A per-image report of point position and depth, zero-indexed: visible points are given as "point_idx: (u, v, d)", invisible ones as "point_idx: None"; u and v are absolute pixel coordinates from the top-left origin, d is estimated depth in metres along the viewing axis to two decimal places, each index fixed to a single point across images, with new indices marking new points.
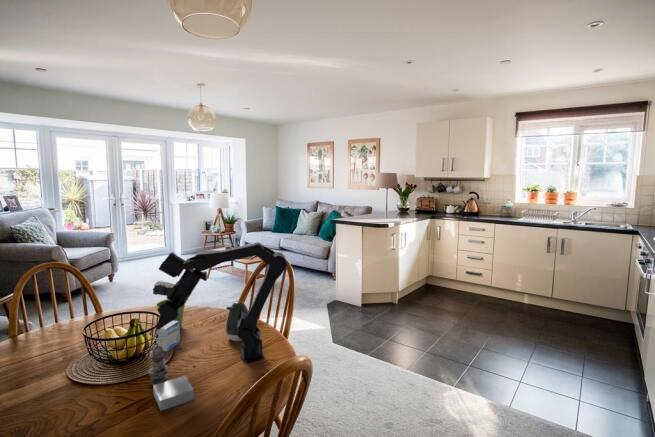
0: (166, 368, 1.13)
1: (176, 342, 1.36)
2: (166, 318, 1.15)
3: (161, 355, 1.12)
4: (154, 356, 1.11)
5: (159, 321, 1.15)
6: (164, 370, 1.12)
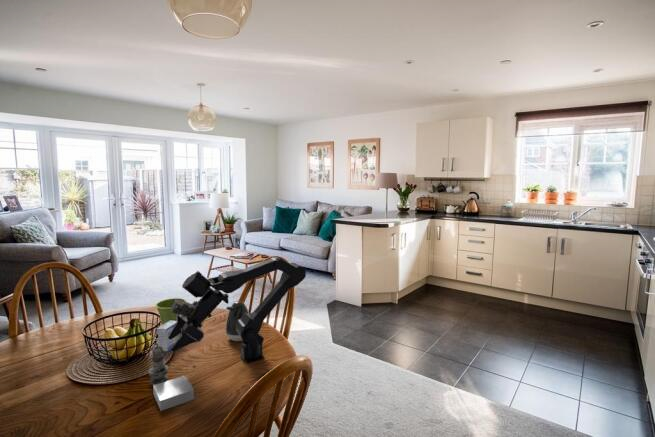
0: (166, 368, 1.13)
1: None
2: (186, 340, 1.10)
3: (161, 355, 1.12)
4: (154, 356, 1.11)
5: (178, 342, 1.09)
6: (164, 370, 1.12)
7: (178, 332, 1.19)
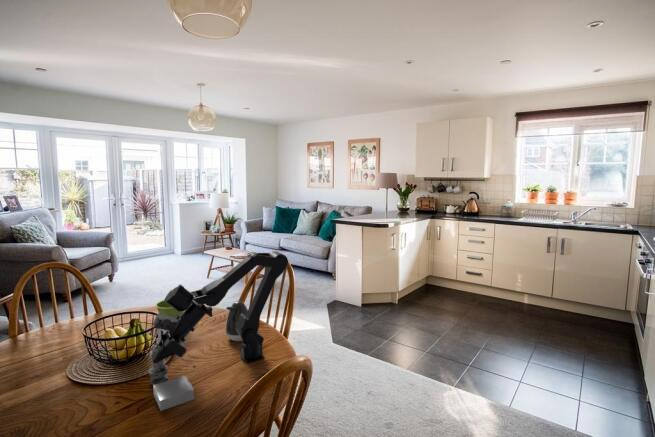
0: (166, 368, 1.13)
1: None
2: (167, 351, 1.11)
3: None
4: (154, 356, 1.11)
5: (159, 354, 1.10)
6: (164, 370, 1.12)
7: None
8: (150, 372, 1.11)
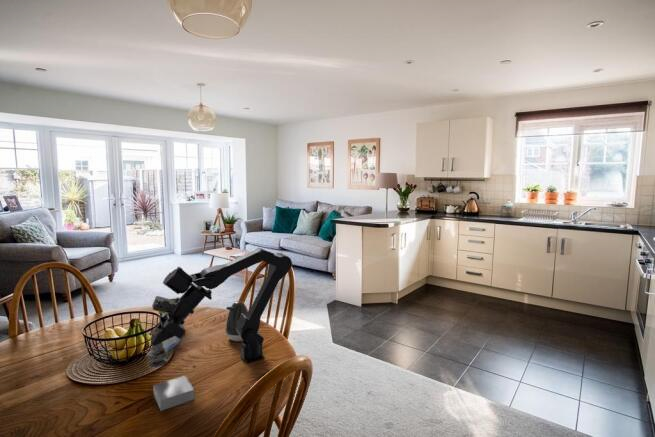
0: (165, 351, 1.12)
1: (176, 342, 1.36)
2: (166, 334, 1.10)
3: None
4: (153, 338, 1.10)
5: (158, 336, 1.09)
6: (163, 353, 1.11)
7: None
8: (149, 355, 1.10)
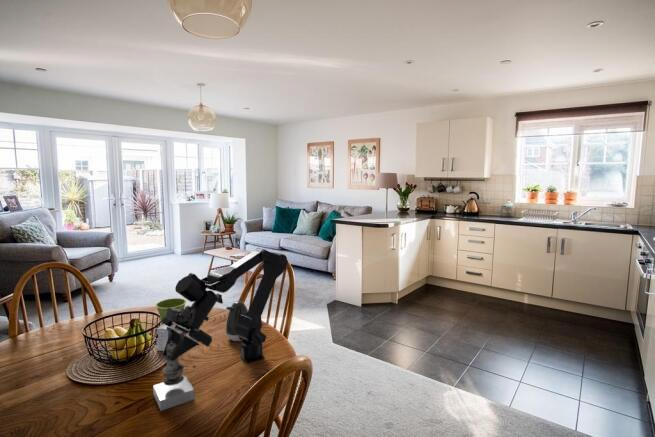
0: (182, 365, 1.05)
1: None
2: (186, 345, 1.03)
3: None
4: (170, 354, 1.02)
5: (178, 350, 1.01)
6: (181, 367, 1.04)
7: None
8: (167, 372, 1.01)
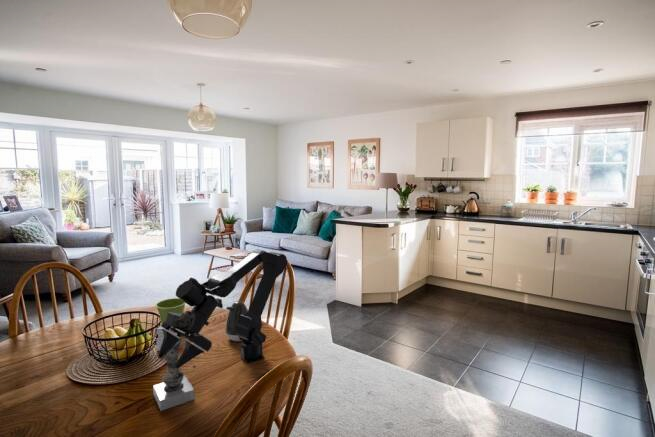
0: (182, 372, 1.05)
1: None
2: (191, 353, 1.01)
3: (177, 359, 1.04)
4: (171, 362, 1.02)
5: (183, 357, 1.00)
6: (182, 375, 1.04)
7: (168, 348, 1.07)
8: (167, 380, 1.01)
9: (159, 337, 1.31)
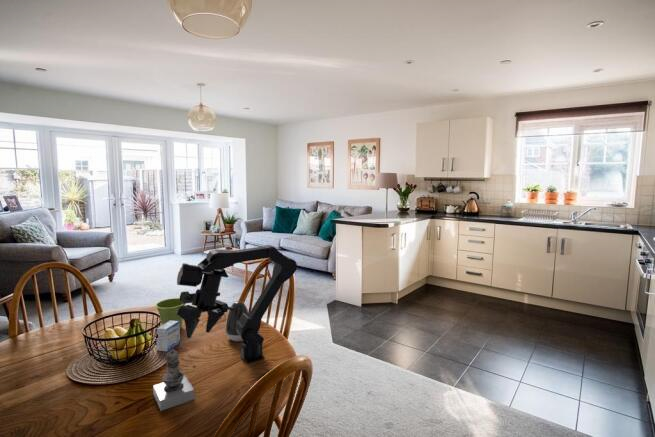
0: (182, 372, 1.05)
1: (176, 342, 1.36)
2: (191, 323, 1.12)
3: (177, 359, 1.04)
4: (171, 361, 1.02)
5: (186, 328, 1.12)
6: (182, 374, 1.04)
7: (211, 323, 1.21)
8: (167, 380, 1.01)
9: (159, 337, 1.31)
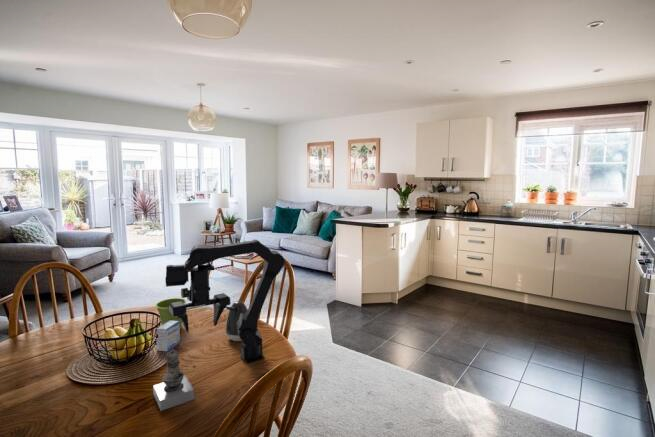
0: (182, 372, 1.05)
1: (176, 342, 1.36)
2: None
3: (177, 359, 1.04)
4: (171, 361, 1.02)
5: (183, 323, 1.18)
6: (182, 375, 1.04)
7: (215, 317, 1.23)
8: (167, 380, 1.01)
9: (159, 337, 1.31)
